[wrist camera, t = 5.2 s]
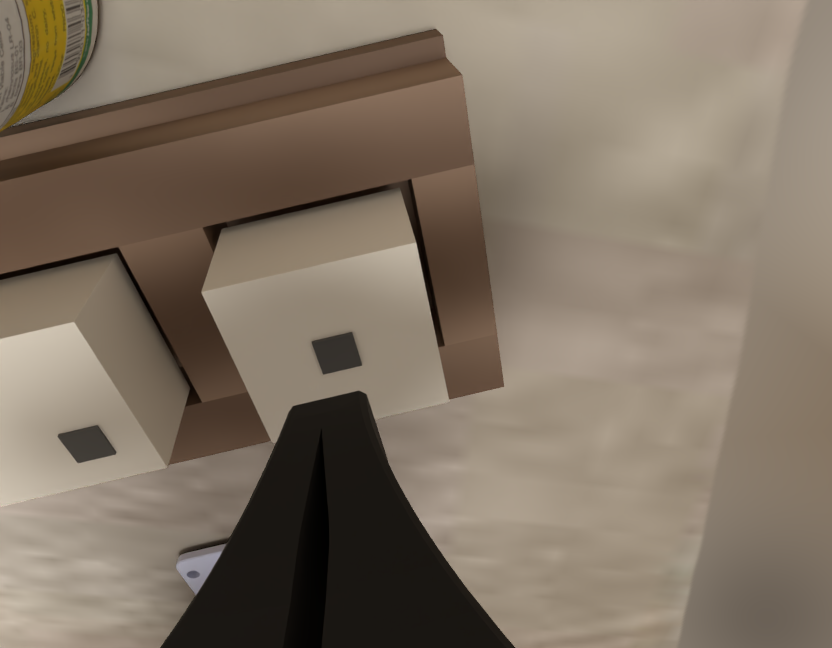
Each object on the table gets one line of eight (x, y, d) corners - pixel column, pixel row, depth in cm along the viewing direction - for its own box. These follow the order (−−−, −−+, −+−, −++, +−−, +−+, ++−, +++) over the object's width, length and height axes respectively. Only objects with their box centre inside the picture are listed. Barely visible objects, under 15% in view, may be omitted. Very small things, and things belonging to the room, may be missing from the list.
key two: (190, 387, 17) (166, 470, 14) (38, 423, 17) (-12, 511, 14) (116, 253, 14) (72, 324, 12) (-62, 294, 14) (-145, 374, 12)
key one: (430, 331, 17) (450, 404, 14) (279, 367, 17) (272, 446, 14) (399, 187, 14) (416, 244, 12) (221, 228, 14) (200, 294, 12)
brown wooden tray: (483, 341, 20) (505, 398, 18) (-136, 485, 20) (-199, 562, 18) (435, 29, 15) (459, 50, 12) (-424, 227, 15) (-574, 288, 12)
